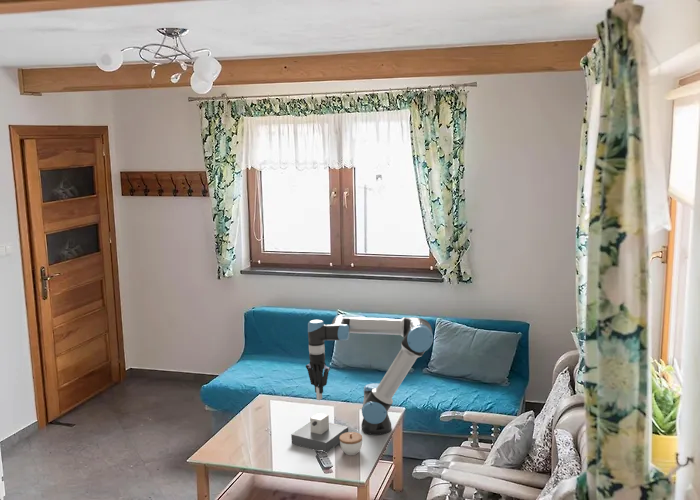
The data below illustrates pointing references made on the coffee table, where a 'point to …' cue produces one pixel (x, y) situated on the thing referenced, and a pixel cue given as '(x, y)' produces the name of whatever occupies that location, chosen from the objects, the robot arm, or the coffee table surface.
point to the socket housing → (318, 437)
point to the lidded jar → (351, 442)
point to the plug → (319, 423)
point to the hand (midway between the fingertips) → (319, 399)
